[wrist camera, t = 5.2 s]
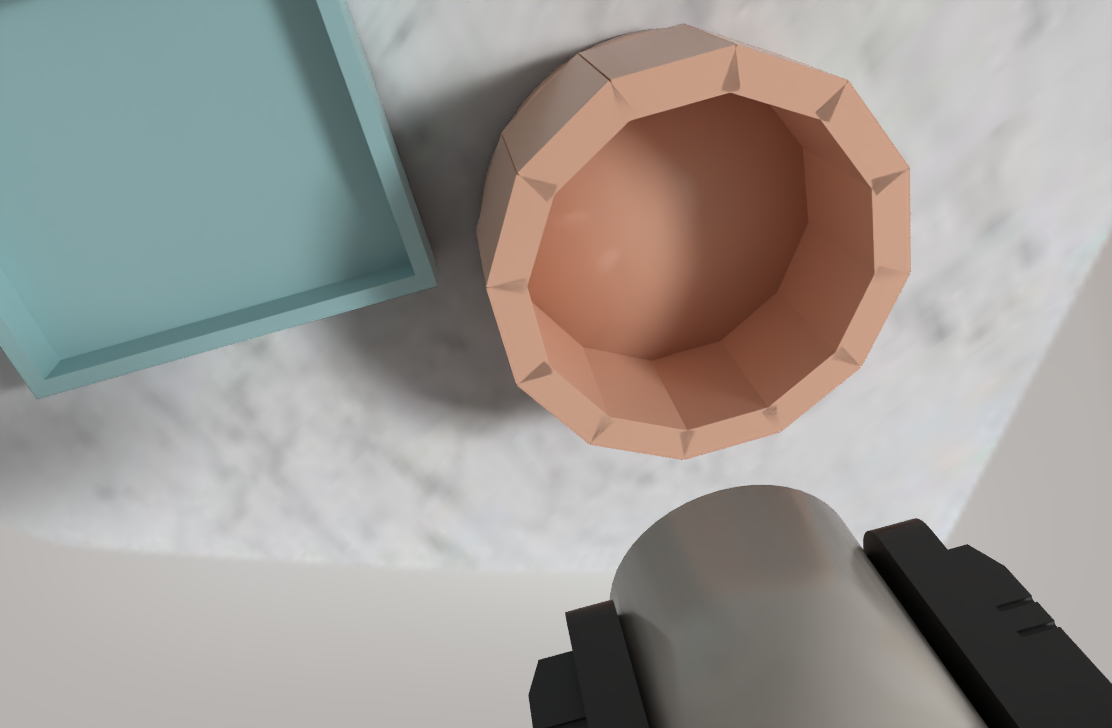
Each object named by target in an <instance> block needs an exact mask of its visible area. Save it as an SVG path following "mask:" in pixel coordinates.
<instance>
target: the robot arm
mask: <svg viewBox="0 0 1112 728" xmlns="http://www.w3.org/2000/svg"><path fill="white" fill-rule="evenodd" d="M863 548H864V551H865V553H866V554H867V556H868V557H869V559H870V560H871V561H872V563H873V564H874V566H875V567H876V568H877V570H878V571H879V573H880V574H881V576H882V577H883V578H884V580H885V581H886V583H887V584H888V586H889V587H890V588H891V590H892V591H893V593H894V594H895V595H896V597H897V598H898V600H899V601H900V603H901V604H902V605H903V607H904V608H905V610H906V611H907V612H908V614H909V615H910V617H911V618H912V620H913V621H914V622H915V624H916V625H917V627H918V628H919V630H920V631H921V632H922V634H923V635H924V637H925V638H926V639H927V641H928V642H929V644H930V645H931V647H932V648H933V649H934V651H935V652H936V654H937V655H938V656H939V658H940V659H941V661H942V662H943V664H944V665H945V666H946V668H947V669H948V671H949V672H950V674H951V675H952V676H953V678H954V679H955V681H956V682H957V683H958V685H959V686H960V688H961V689H962V691H963V692H964V693H965V695H966V696H967V698H968V699H969V700H970V702H971V703H972V705H973V706H974V708H975V709H976V710H977V712H978V713H979V715H980V716H981V718H982V719H983V720H984V722H985V723H986V725H987V726H988V727H989V728H1112V684H1111V683H1110V682H1109V680H1108V679H1107V678H1106V677H1105V676H1104V675H1103V674H1102V673H1101V672H1100V670H1099V669H1098V668H1097V667H1096V666H1095V665H1094V664H1093V663H1092V662H1091V660H1090V659H1089V658H1088V657H1087V656H1086V655H1085V654H1084V653H1083V652H1082V651H1081V649H1080V648H1079V647H1078V646H1077V645H1076V644H1075V643H1074V642H1073V641H1072V640H1071V638H1069V636H1068V635H1067V634H1066V633H1065V632H1064V631H1063V630H1062V629H1061V627H1057V626H1056V625H1055V623H1054V620H1053V619H1052V618H1051V616H1050V615H1049V614H1048V613H1047V612H1046V611H1045V610H1044V609H1043V608H1042V606H1041V605H1040V604H1039V603H1038V602H1034V601H1033V599H1032V596H1031V594H1030V593H1029V592H1028V591H1027V590H1026V589H1025V588H1024V587H1023V586H1022V585H1021V583H1020V582H1019V581H1018V580H1017V579H1016V578H1015V577H1014V576H1013V575H1012V573H1011V572H1010V571H1009V570H1008V569H1007V568H1006V567H1005V566H1004V565H1002V564H1000V563H998V562H997V561H995V560H993V559H992V558H990V557H988V556H987V555H985V554H983V553H981V552H980V551H978V550H976V549H974V548H973V547H971V546H970V545H968V544H967V545H963V546H960V547H956V548H953V549H949V550H947V548H946V547H945V546H944V545H943V543H942V542H941V541H940V540H939V539H938V537H937V536H936V535H935V534H934V533H933V532H932V530H931V529H930V528H929V527H928V526H927V525H926V524H925V523H924V522H923V521H922V520H920V519H917V518H915V519H911V520H907V521H904V522H900V523H896V524H893V525H889V526H885V527H881V528H878V529H874V530H870V531H867V532H866V533H865V534H864V539H863ZM565 615H566V621H567V626H568V630H569V635H570V640H571V645H572V650H573V651H570V652H566V653H563V654H559V655H555V656H552V657H548V658H544V659H541V660H538V664H537V667H536V671H535V675H534V678H533V681H532V685H531V688H530V692H529V702H530V710H531V717H532V724H533V728H649V725H648V721H647V718H646V714H645V711H644V707H643V703H642V700H641V696H640V693H639V689H638V686H637V682H636V679H635V675H634V672H633V668H632V664H631V661H630V657H629V654H628V650H627V647H626V643H625V640H624V636H623V633H622V629H621V625H620V622H619V618H618V615H617V611H616V608H615V604H614V601H613V599H612V600H609V601H605V602H601V603H598V604H594V605H590V606H587V607H583V608H579V609H575V610H572V611H568V612H565Z"/></svg>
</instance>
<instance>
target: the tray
mask: <svg viewBox="0 0 1112 728" xmlns="http://www.w3.org/2000/svg"><path fill="white" fill-rule="evenodd" d="M436 286H437V265H436V261H435V258H434V256H433V253H432V250H431V247H430V244H429V241H428V238H427V235H426V232H425V229H424V226H423V223H422V221H421V218H420V215H419V212H418V209H417V206H416V203H415V200H414V197H413V194H412V191H411V188H410V186H409V183H408V180H407V177H406V174H405V171H404V168H403V165H402V162H401V159H400V156H399V153H398V151H397V148H396V145H395V142H394V139H393V136H392V133H391V130H390V127H389V124H388V121H387V118H386V115H385V113H384V110H383V107H382V104H381V101H380V98H379V95H378V92H377V89H376V86H375V83H374V80H373V78H372V75H371V72H370V69H369V66H368V63H367V60H366V57H365V54H364V51H363V48H362V45H361V43H360V40H359V37H358V34H357V31H356V28H355V25H354V22H353V19H352V16H351V13H350V10H349V7H348V5H347V2H346V0H0V347H1V348H2V350H3V351H4V352H5V354H6V355H7V357H8V358H9V360H10V361H11V363H12V364H13V366H14V367H15V368H16V370H17V371H18V373H19V374H20V376H21V377H22V379H23V380H24V381H25V383H26V384H27V386H28V387H29V389H30V390H31V392H32V393H33V394H34V396H35V397H36V399H40V398H43V397H47V396H50V395H54V394H57V393H61V392H65V391H68V390H72V389H75V388H79V387H82V386H86V385H89V384H93V383H96V382H100V381H103V380H107V379H111V378H114V377H118V376H121V375H125V374H128V373H132V372H135V371H139V370H142V369H146V368H149V367H153V366H156V365H160V364H164V363H167V362H171V361H174V360H178V359H181V358H185V357H188V356H192V355H195V354H199V353H202V352H206V351H210V350H213V349H217V348H220V347H224V346H227V345H231V344H234V343H238V342H241V341H245V340H248V339H252V338H255V337H259V336H263V335H266V334H270V333H273V332H277V331H280V330H284V329H287V328H291V327H294V326H298V325H301V324H305V323H309V322H312V321H316V320H319V319H323V318H326V317H330V316H333V315H337V314H340V313H344V312H347V311H351V310H354V309H358V308H362V307H365V306H369V305H372V304H376V303H379V302H383V301H386V300H390V299H393V298H397V297H400V296H404V295H408V294H411V293H415V292H418V291H422V290H425V289H429V288H432V287H436Z"/></svg>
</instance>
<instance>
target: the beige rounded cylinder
mask: <svg viewBox="0 0 1112 728" xmlns="http://www.w3.org/2000/svg"><path fill="white" fill-rule="evenodd" d="M612 599H613V601H614V604H615V608H616V611H617V615H618V618H619V622H620V625H621V629H622V633H623V636H624V640H625V643H626V647H627V650H628V654H629V657H630V661H631V664H632V668H633V672H634V675H635V679H636V682H637V686H638V689H639V693H640V696H641V700H642V703H643V707H644V711H645V714H646V718H647V721H648V725H649V728H989V727H988V726H987V725H986V723H985V722H984V720H983V719H982V718H981V716H980V715H979V713H978V712H977V710H976V709H975V708H974V706H973V705H972V703H971V702H970V700H969V699H968V698H967V696H966V695H965V693H964V692H963V691H962V689H961V688H960V686H959V685H958V683H957V682H956V681H955V679H954V678H953V676H952V675H951V674H950V672H949V671H948V669H947V668H946V666H945V665H944V664H943V662H942V661H941V659H940V658H939V656H938V655H937V654H936V652H935V651H934V649H933V648H932V647H931V645H930V644H929V642H928V641H927V639H926V638H925V637H924V635H923V634H922V632H921V631H920V630H919V628H918V627H917V625H916V624H915V622H914V621H913V620H912V618H911V617H910V615H909V614H908V612H907V611H906V610H905V608H904V607H903V605H902V604H901V603H900V601H899V600H898V598H897V597H896V595H895V594H894V593H893V591H892V590H891V588H890V587H889V586H888V584H887V583H886V581H885V580H884V578H883V577H882V576H881V574H880V573H879V571H878V570H877V568H876V567H875V566H874V564H873V563H872V561H871V560H870V559H869V557H868V556H867V554H866V553H865V551H864V550H863V549H862V547H861V546H860V544H859V543H858V542H857V540H856V539H855V537H854V536H853V534H852V533H851V532H850V530H849V529H848V527H847V526H846V524H845V523H844V522H843V520H842V519H841V518H840V517H839V515H838V514H837V513H836V512H835V511H834V510H833V509H832V508H831V507H830V506H828V505H827V504H826V503H825V502H823V501H821V500H820V499H818V498H816V497H815V496H813V495H810V494H808V493H805V492H803V491H800V490H796V489H792V488H788V487H782V486H774V485H749V486H740V487H734V488H729V489H724V490H720V491H716V492H713V493H710V494H707V495H704V496H701V497H699V498H697V499H694V500H692V501H690V502H687V503H685V504H684V505H682V506H680V507H678V508H676V509H675V510H673V511H671V512H669V513H668V514H667V515H665V516H664V517H662V518H661V519H660V520H658V521H657V522H655V523H654V524H653V525H652V526H651V527H650V528H649V529H647V530H646V531H645V532H644V533H643V534H642V535H641V536H640V537H639V538H638V540H637V541H636V542H635V543H634V544H633V545H632V546H631V548H630V549H629V551H628V552H627V553H626V555H625V556H624V558H623V560H622V562H621V563H620V565H619V567H618V569H617V572H616V574H615V577H614V580H613V583H612V588H611V593H610V600H612Z"/></svg>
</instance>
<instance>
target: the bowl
mask: <svg viewBox="0 0 1112 728" xmlns="http://www.w3.org/2000/svg"><path fill="white" fill-rule="evenodd" d="M476 234H477V239H478V245H479V251H480V256H481V262H482V268H483V273H484V279H485V285H486V290H487V293H488V296H489V299H490V302H491V306H492V309H493V312H494V315H495V318H496V322H497V325H498V328H499V331H500V334H501V338H502V341H503V344H504V347H505V350H506V354H507V357H508V360H509V363H510V366H511V370H512V373H513V376H514V379H515V382H516V384H517V386H518V387H519V388H521V389H522V390H523V391H524V392H526V393H527V394H528V395H529V396H530V397H532V398H533V399H534V400H535V401H537V402H538V403H539V404H540V405H542V406H543V407H544V408H545V409H546V410H548V411H549V412H550V413H551V414H553V415H554V416H555V417H556V418H557V419H559V420H560V421H561V422H562V423H564V424H565V425H566V426H567V427H569V428H570V429H571V430H572V431H573V432H575V433H576V434H577V435H578V436H580V437H581V438H582V439H583V440H584V441H586V442H587V443H588V444H590V445H595V446H601V447H608V448H614V449H620V450H626V451H632V452H638V453H644V454H650V455H657V456H663V457H669V458H675V459H681V460H683V459H684V460H685V459H689V458H692V457H696V456H699V455H703V454H706V453H710V452H713V451H717V450H720V449H724V448H727V447H731V446H734V445H738V444H741V443H745V442H748V441H752V440H755V439H759V438H762V437H766V436H769V435H773V434H776V433H779V431H783V430H784V429H785V428H786V427H788V426H789V425H790V424H791V423H792V422H794V421H795V420H796V419H797V418H799V417H800V416H801V415H802V414H804V413H805V412H806V411H807V410H809V409H810V408H811V407H812V406H814V405H815V404H816V403H817V402H819V401H820V400H821V399H822V398H824V397H825V396H826V395H827V394H829V393H830V392H831V391H832V390H833V389H835V388H836V387H837V386H838V385H840V384H841V383H842V382H843V381H845V380H846V379H847V378H848V377H850V376H851V375H852V374H853V373H855V372H856V371H857V370H858V369H860V368H861V367H860V366H862V365H863V363H864V361H865V359H866V358H867V356H868V354H869V352H870V350H871V348H872V346H873V344H874V342H875V340H876V338H877V336H878V334H879V333H880V331H881V329H882V327H883V325H884V323H885V321H886V319H887V317H888V315H889V313H890V311H891V310H892V308H893V306H894V304H895V302H896V300H897V298H898V296H899V294H900V292H901V290H902V288H903V287H904V285H905V283H906V281H907V279H908V277H909V275H910V273H909V272H911V255H910V168H909V166H908V164H907V163H906V162H905V160H904V159H903V157H902V156H901V154H900V153H899V152H898V150H897V149H896V147H895V146H894V144H893V143H892V142H891V140H890V139H889V137H888V136H887V134H886V133H885V132H884V130H883V129H882V127H881V126H880V124H879V123H878V122H877V120H876V119H875V117H874V116H873V114H872V113H871V112H870V110H869V109H868V107H867V106H866V104H865V103H864V102H863V100H862V99H861V97H860V96H859V94H858V93H857V92H856V90H855V89H854V87H853V86H852V84H851V83H850V82H849V81H848V80H846V79H844V78H841V77H838V76H836V75H833V74H830V73H828V72H825V71H822V70H820V69H817V68H814V67H812V66H809V65H806V64H804V63H801V62H798V61H796V60H793V59H790V58H787V57H785V56H782V55H779V54H777V53H773V52H770V51H767V50H764V49H761V48H758V47H755V46H752V45H749V44H745V43H742V42H739V41H736V40H733V39H730V38H727V37H725V36H722V35H718V34H714V33H711V32H708V31H705V30H702V29H699V28H696V27H692V26H689V25H686V24H679V25H676V26H672V27H668V28H662V29H648V30H643V31H638V32H634V33H629V34H624V35H621V36H618V37H615V38H613V39H610V40H607V41H604V42H601V43H599V44H597V45H595V46H593V47H591V48H589V49H587V50H585V51H583V52H579V54H576V55H575V56H574V57H573V58H571V59H570V60H569V61H567V62H566V63H564V64H563V65H561V66H560V67H558V68H557V69H556V70H554V71H553V72H552V73H551V74H550V75H549V76H548V77H547V78H545V79H544V80H543V81H542V82H541V83H540V84H539V85H538V86H537V87H536V88H535V89H534V90H533V91H532V92H531V93H530V95H529V96H528V97H527V98H526V99H525V100H524V102H523V103H522V104H521V105H520V106H519V108H518V109H517V111H516V112H515V114H514V115H513V117H512V118H511V120H510V121H509V123H508V125H507V126H506V128H505V129H504V130H503V131H502V133H501V134H500V138H499V142H498V144H497V146H496V148H495V150H494V152H493V156H492V159H491V162H490V165H489V168H488V171H487V174H486V179H485V184H484V190H483V195H482V206H481V213H480V217H479V221H478V224H477V228H476Z"/></svg>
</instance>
